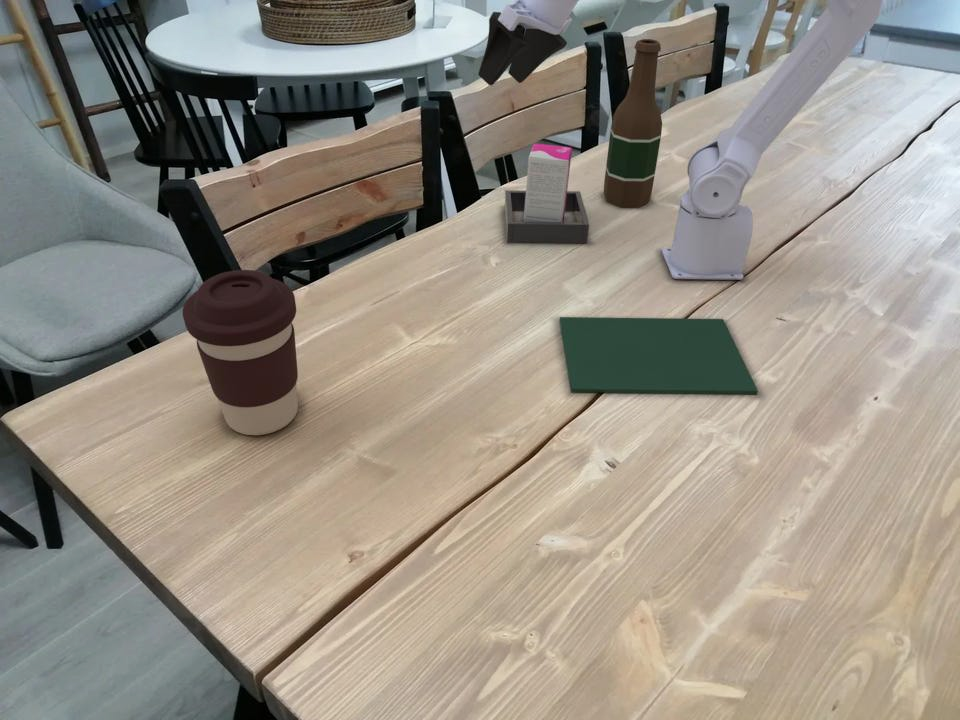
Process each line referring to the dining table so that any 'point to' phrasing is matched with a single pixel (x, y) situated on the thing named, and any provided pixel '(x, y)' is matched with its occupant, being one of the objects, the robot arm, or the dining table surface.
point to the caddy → (546, 230)
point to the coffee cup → (247, 347)
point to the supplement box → (547, 183)
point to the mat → (653, 356)
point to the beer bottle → (635, 134)
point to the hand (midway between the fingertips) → (500, 78)
